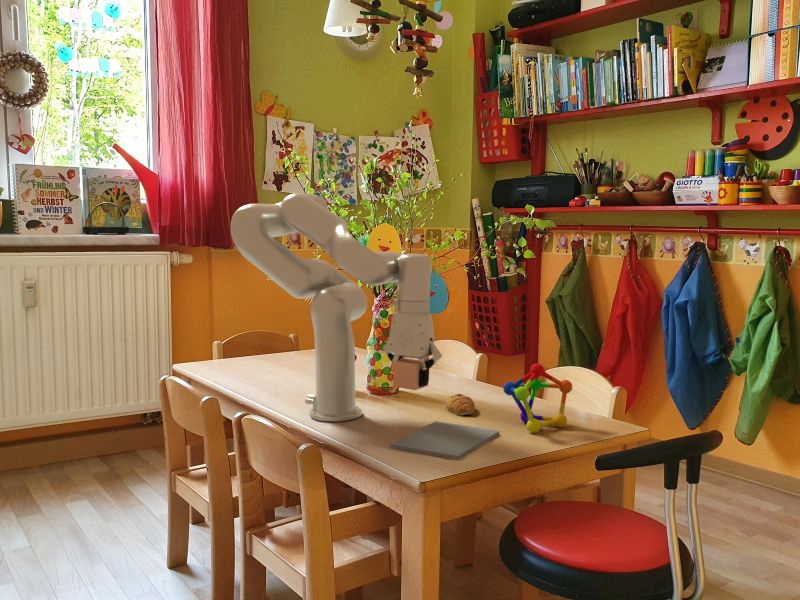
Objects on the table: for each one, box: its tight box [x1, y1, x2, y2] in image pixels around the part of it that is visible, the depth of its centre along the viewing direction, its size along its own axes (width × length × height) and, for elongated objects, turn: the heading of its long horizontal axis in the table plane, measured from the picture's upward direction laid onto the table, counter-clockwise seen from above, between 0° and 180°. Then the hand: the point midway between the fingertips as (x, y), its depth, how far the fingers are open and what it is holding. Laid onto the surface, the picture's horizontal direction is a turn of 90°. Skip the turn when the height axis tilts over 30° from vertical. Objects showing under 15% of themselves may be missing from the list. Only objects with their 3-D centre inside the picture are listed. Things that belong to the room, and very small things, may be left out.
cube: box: [392, 357, 429, 391], centre depth 171 cm, size 6×6×6 cm
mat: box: [389, 420, 500, 461], centre depth 158 cm, size 16×20×1 cm
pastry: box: [445, 393, 476, 416], centre depth 181 cm, size 9×7×4 cm
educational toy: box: [502, 363, 573, 434], centre depth 167 cm, size 16×13×15 cm
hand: (410, 382), depth 171 cm, fingers closed on cube, 6 cm apart
